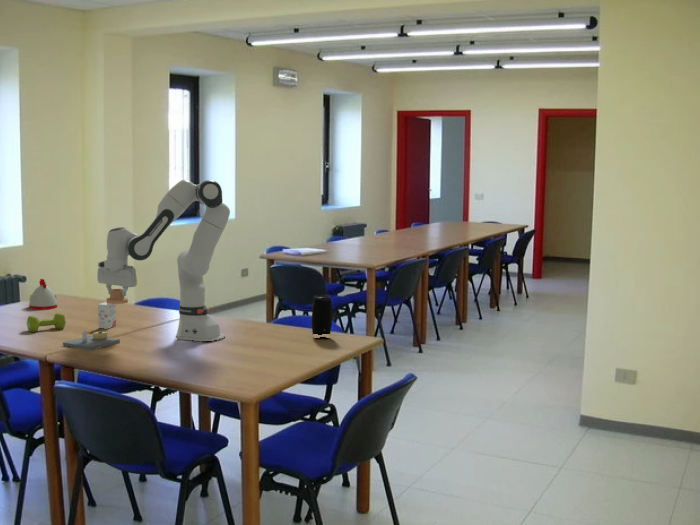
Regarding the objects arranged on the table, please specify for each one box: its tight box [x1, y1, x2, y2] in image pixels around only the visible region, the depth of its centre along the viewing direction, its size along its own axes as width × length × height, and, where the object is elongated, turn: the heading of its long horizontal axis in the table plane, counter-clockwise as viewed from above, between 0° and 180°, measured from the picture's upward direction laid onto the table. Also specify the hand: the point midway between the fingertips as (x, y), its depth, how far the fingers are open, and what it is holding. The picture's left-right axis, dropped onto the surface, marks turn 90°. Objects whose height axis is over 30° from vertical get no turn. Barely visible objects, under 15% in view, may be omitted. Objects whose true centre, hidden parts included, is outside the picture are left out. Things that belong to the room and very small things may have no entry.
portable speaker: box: [311, 294, 333, 335], centre depth 379 cm, size 9×9×20 cm
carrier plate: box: [62, 330, 121, 351], centre depth 352 cm, size 15×18×6 cm
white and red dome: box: [28, 278, 58, 311], centre depth 432 cm, size 14×14×15 cm
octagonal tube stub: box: [105, 288, 129, 305], centre depth 364 cm, size 9×9×6 cm
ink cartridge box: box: [97, 296, 117, 330], centre depth 387 cm, size 9×5×15 cm, turn 168°
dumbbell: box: [26, 312, 67, 333], centre depth 378 cm, size 16×8×7 cm, turn 131°
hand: (117, 295), depth 364 cm, fingers closed on octagonal tube stub, 6 cm apart
